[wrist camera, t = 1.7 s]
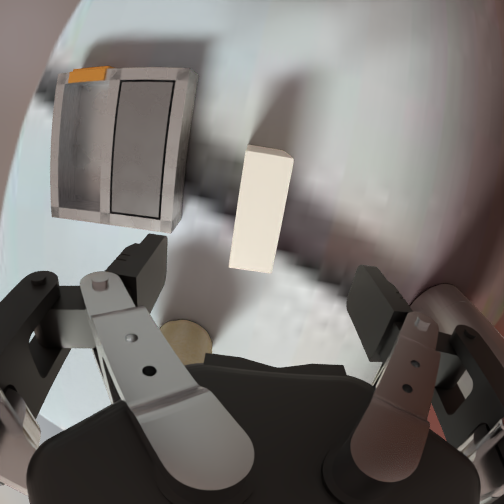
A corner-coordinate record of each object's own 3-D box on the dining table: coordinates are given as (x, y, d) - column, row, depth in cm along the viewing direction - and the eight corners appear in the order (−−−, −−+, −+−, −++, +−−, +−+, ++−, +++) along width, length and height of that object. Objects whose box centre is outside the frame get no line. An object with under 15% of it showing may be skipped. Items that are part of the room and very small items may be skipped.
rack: (199, 72, 21) (190, 64, 18) (180, 220, 27) (170, 234, 23) (79, 74, 21) (57, 70, 17) (70, 206, 26) (50, 217, 23)
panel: (283, 150, 24) (294, 158, 18) (267, 237, 27) (271, 273, 21) (247, 144, 24) (245, 150, 18) (234, 232, 27) (228, 267, 21)
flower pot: (147, 360, 34) (127, 413, 26) (142, 298, 30) (113, 352, 22) (221, 373, 34) (215, 431, 27) (230, 313, 31) (223, 373, 23)
